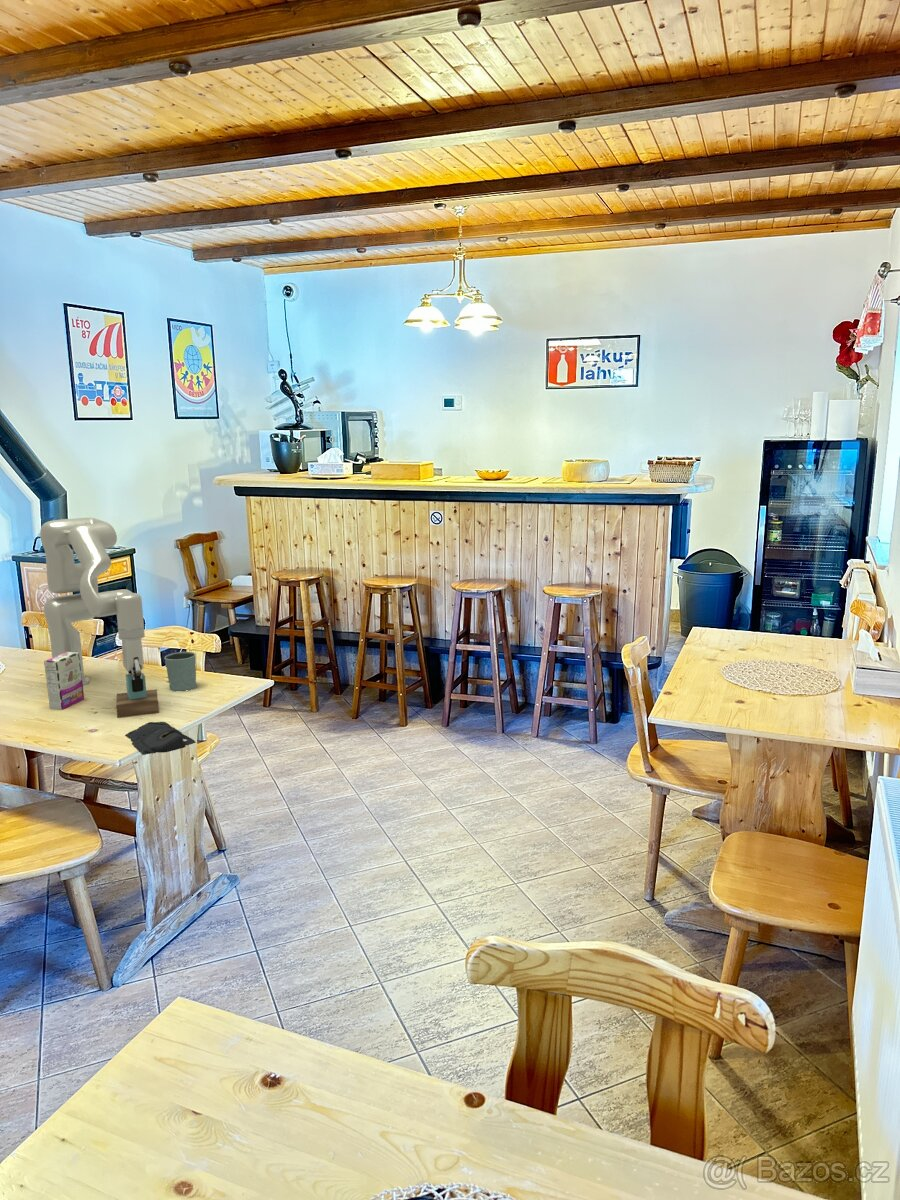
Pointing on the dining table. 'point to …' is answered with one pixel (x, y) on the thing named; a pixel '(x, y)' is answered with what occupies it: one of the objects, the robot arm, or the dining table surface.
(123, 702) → the walnut block
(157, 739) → the dark slate chunk
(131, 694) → the teal block
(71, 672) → the candy bar box
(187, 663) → the grey green cup
